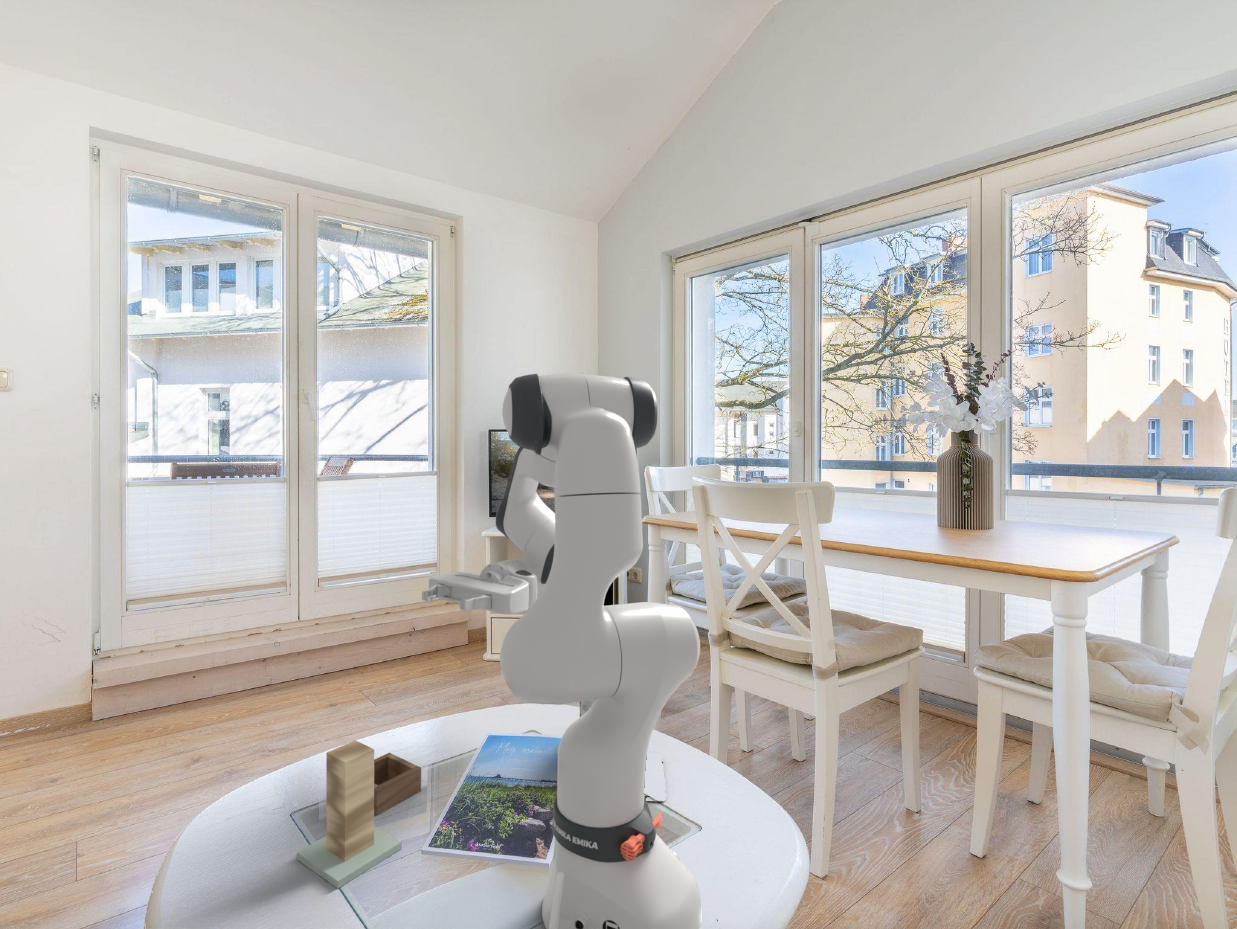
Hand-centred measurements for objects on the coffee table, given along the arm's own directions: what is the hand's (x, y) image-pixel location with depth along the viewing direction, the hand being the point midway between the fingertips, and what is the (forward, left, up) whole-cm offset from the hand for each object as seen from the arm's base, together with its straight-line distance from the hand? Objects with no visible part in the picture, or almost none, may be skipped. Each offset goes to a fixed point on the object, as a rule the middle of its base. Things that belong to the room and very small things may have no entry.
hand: (443, 601), depth 107 cm
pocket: (+6, +7, -32) cm, 33 cm away
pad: (-3, +19, -32) cm, 37 cm away
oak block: (-3, +19, -31) cm, 36 cm away
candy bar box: (-14, -26, -32) cm, 44 cm away
